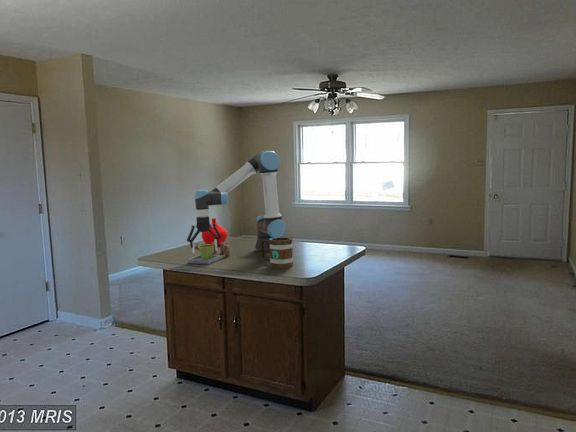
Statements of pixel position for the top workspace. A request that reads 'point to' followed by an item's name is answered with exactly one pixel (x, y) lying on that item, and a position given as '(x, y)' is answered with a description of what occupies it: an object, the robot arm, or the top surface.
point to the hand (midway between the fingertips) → (205, 251)
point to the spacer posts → (221, 249)
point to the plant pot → (206, 251)
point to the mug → (279, 252)
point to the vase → (209, 238)
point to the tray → (199, 261)
